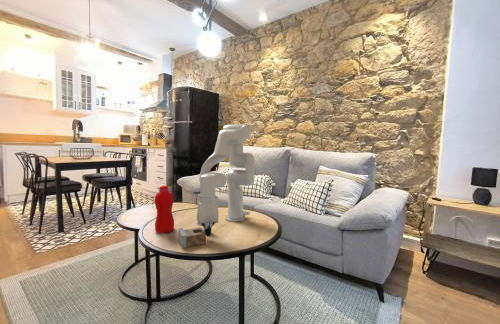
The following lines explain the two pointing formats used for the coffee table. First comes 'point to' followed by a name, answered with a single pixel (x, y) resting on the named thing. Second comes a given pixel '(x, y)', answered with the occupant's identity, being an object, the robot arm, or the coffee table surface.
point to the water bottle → (164, 210)
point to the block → (195, 236)
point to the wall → (182, 238)
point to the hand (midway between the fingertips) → (208, 235)
